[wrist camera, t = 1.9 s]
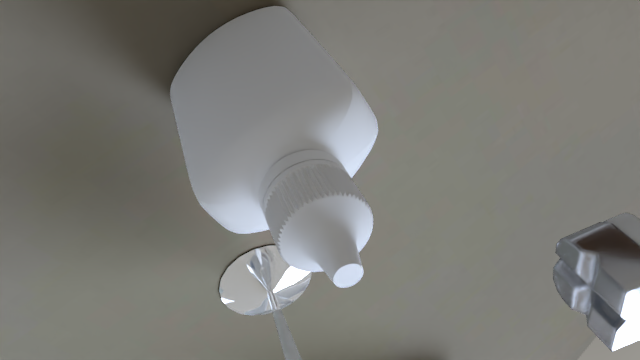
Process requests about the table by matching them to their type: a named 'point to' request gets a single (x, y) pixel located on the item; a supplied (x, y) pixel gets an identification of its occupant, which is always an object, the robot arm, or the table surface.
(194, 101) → the eye dropper bottle
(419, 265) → the table surface
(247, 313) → the wineglass
